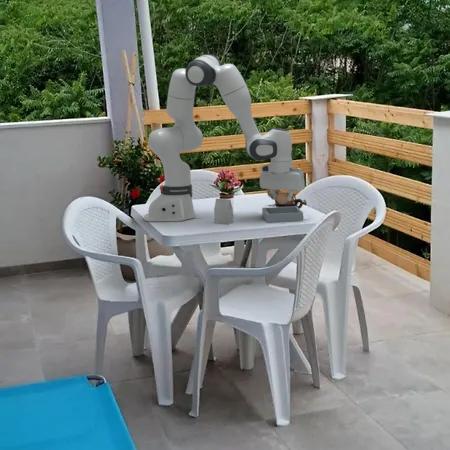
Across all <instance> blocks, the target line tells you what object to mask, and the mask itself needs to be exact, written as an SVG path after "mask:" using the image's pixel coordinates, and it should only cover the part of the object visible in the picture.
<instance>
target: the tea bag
mask: <svg viewBox="0 0 450 450" xmlns="http://www.w3.org/2000/svg"><path fill="white" fill-rule="evenodd" d="M233 209H234V208H233V205H232V202H231V199H228V198H215V203H214V207H213V214H214V215H213V218H214V224H223V225H230V224H232V223H233V224H234V210H233Z"/></svg>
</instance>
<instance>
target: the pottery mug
mask: <svg viewBox="0 0 450 450" xmlns="http://www.w3.org/2000/svg"><path fill="white" fill-rule="evenodd" d="M293 198H294V197H293ZM293 198H292V197H291V199H292V200H291V201H288V202H287V203H285V204H279V203H278V202H277V201H276V202H277V204H276V205H275V207H292V206H297V207H298V208H299V209H300V210H301V208H303V206H304V202H303V200H302V199H301V198H296V200H295V198H294V199H293ZM298 203H299V205H298Z"/></svg>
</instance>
